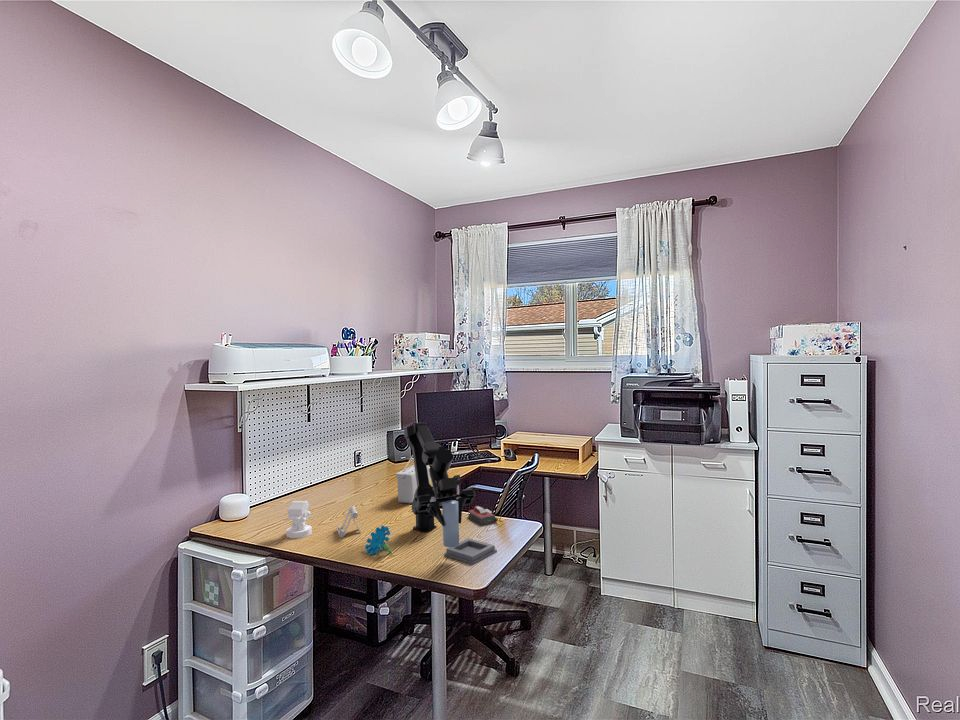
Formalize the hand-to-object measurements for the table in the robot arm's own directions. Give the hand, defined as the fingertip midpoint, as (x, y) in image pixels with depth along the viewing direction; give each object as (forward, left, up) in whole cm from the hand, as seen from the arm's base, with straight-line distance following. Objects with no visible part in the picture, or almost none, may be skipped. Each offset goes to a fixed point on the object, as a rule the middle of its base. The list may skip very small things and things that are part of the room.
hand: (452, 524), depth 151 cm
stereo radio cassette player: (-62, +42, -12) cm, 76 cm away
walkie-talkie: (-20, +38, -12) cm, 44 cm away
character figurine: (-62, -15, -12) cm, 65 cm away
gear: (-25, -9, -12) cm, 29 cm away
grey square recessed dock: (+1, +8, -11) cm, 14 cm away
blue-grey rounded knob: (-1, +1, -7) cm, 7 cm away
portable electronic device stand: (-48, -3, -12) cm, 50 cm away
